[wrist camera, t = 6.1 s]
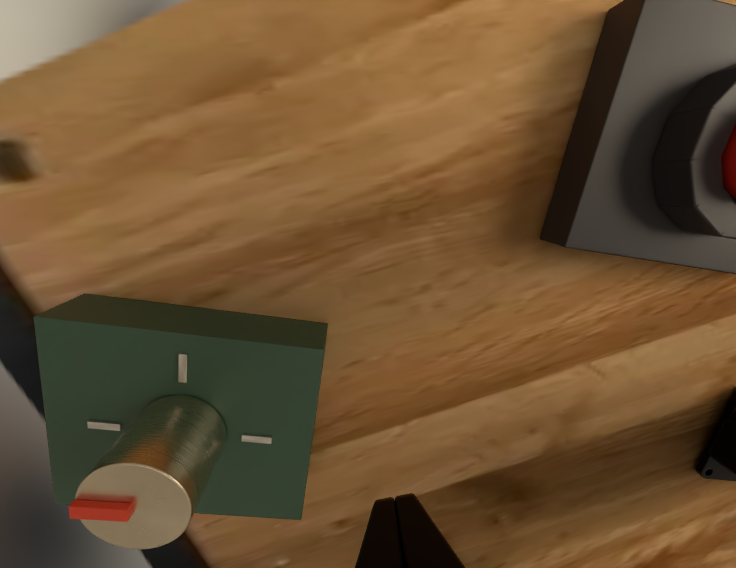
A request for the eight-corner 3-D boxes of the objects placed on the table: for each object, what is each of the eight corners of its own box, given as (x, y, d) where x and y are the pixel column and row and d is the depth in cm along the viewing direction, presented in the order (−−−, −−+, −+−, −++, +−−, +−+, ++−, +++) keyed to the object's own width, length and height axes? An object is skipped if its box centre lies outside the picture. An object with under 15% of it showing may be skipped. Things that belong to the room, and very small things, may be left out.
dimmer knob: (228, 399, 16) (189, 475, 12) (225, 469, 17) (187, 561, 13) (136, 390, 16) (62, 466, 12) (138, 462, 17) (72, 555, 13)
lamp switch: (844, 65, 16) (995, 31, 13) (745, 271, 19) (845, 295, 15) (607, 9, 15) (695, -47, 11) (539, 238, 18) (591, 255, 14)
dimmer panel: (328, 323, 19) (324, 351, 16) (307, 474, 21) (300, 523, 18) (84, 293, 17) (29, 317, 14) (96, 457, 20) (52, 507, 17)
